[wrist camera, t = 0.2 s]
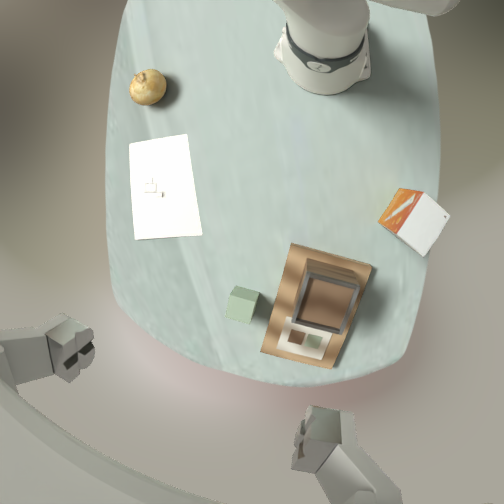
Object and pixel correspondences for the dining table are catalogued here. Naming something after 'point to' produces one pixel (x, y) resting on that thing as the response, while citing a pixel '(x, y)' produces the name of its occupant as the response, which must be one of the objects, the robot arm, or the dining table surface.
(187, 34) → the dining table surface
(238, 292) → the sage block
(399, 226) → the small box
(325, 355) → the oak base board
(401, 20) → the dining table surface
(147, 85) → the onion
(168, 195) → the paper sheet
